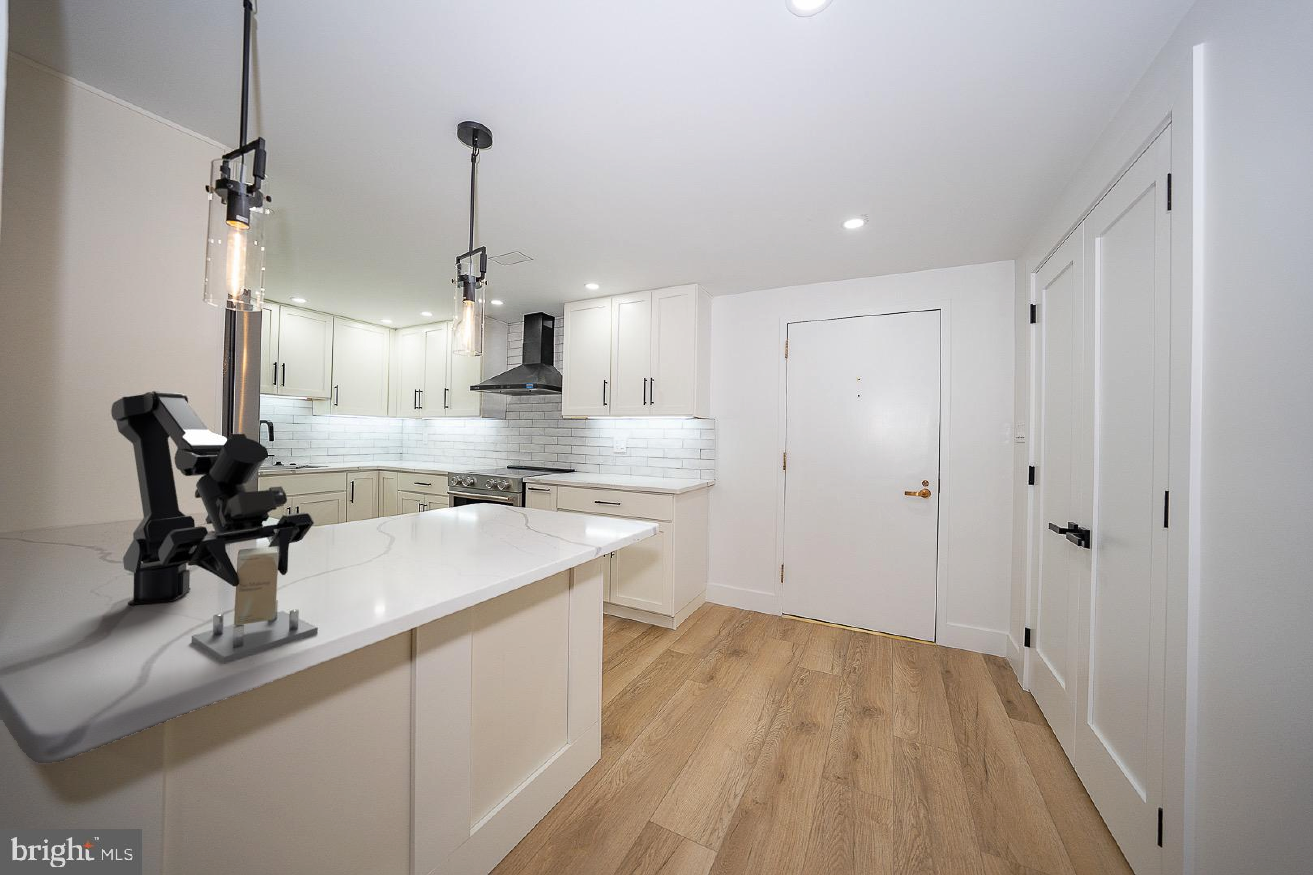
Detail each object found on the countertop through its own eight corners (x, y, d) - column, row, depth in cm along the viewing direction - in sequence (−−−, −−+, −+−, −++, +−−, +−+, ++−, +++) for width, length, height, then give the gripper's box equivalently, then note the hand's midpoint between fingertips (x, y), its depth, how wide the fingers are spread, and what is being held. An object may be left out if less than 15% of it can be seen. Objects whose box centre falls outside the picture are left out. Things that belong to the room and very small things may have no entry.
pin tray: (224, 663, 67) (224, 636, 67) (191, 641, 73) (192, 616, 73) (317, 633, 78) (318, 609, 78) (282, 616, 84) (283, 594, 84)
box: (233, 626, 72) (234, 555, 72) (236, 616, 76) (237, 548, 75) (277, 619, 76) (278, 551, 75) (277, 610, 79) (279, 544, 79)
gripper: (169, 475, 68) (205, 564, 64) (309, 468, 85) (345, 537, 81) (143, 522, 72) (176, 609, 67) (283, 505, 89) (316, 574, 84)
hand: (262, 578), depth 75 cm, fingers closed on box, 6 cm apart
